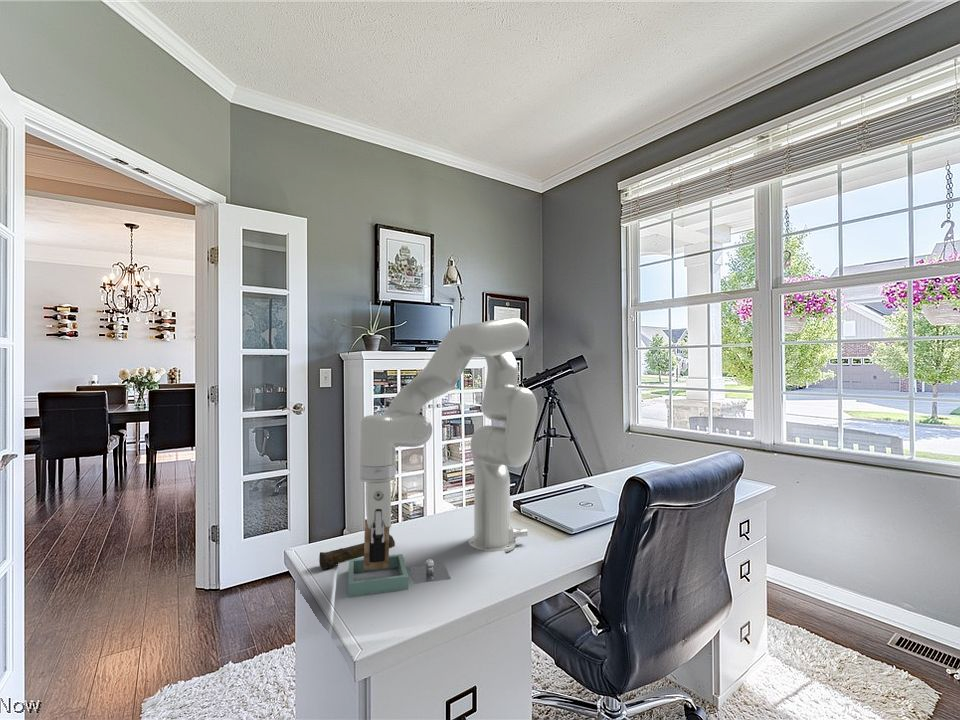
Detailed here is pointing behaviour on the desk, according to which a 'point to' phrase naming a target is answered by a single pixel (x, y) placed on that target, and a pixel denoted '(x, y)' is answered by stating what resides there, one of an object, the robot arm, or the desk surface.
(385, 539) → the brown wooden block
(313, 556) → the desk surface
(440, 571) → the stud base
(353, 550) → the hand tool
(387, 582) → the bin
